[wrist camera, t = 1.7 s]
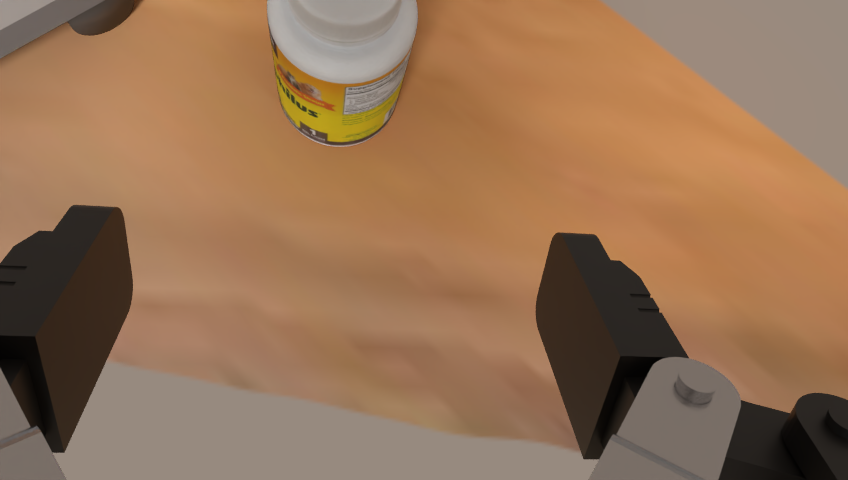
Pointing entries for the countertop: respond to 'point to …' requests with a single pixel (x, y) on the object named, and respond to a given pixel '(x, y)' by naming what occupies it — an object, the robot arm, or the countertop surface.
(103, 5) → the square grey tray
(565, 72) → the countertop surface
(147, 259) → the countertop surface
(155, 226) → the countertop surface
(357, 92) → the supplement bottle
